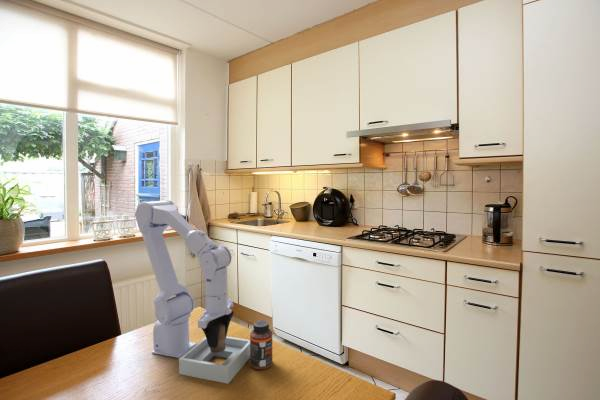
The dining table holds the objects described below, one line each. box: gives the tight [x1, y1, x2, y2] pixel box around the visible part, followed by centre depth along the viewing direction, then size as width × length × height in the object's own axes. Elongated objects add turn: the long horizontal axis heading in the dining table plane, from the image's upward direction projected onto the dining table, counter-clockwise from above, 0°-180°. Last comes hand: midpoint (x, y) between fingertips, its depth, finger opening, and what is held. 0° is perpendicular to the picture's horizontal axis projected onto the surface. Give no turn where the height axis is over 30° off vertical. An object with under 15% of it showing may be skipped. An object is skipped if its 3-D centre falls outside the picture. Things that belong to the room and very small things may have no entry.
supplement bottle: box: [249, 320, 273, 371], centre depth 87 cm, size 6×6×11 cm
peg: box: [210, 324, 226, 353], centre depth 87 cm, size 4×4×6 cm
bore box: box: [178, 336, 250, 385], centre depth 87 cm, size 14×14×4 cm
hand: (217, 342), depth 87 cm, fingers closed on peg, 4 cm apart
